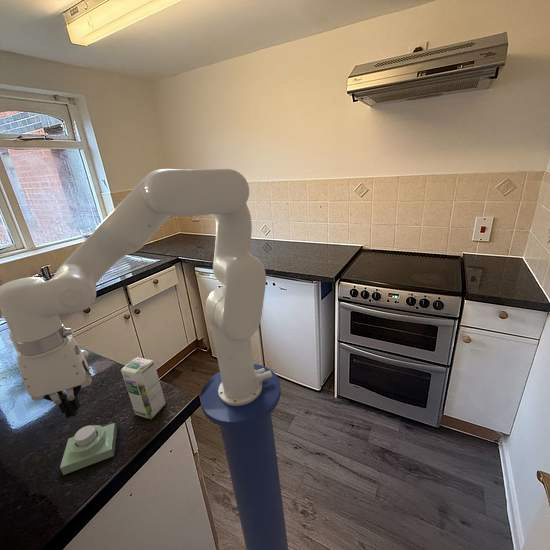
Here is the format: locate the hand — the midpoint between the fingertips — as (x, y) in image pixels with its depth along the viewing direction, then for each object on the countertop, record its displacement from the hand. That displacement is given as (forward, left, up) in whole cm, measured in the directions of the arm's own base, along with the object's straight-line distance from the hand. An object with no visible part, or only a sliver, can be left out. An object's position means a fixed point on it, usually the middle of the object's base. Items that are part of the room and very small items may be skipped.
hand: (72, 412), depth 65 cm
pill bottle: (+26, -54, -12) cm, 61 cm away
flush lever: (+8, -33, -4) cm, 34 cm away
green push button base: (0, 0, -12) cm, 12 cm away
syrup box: (-13, -7, -12) cm, 19 cm away
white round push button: (0, 0, -8) cm, 8 cm away
